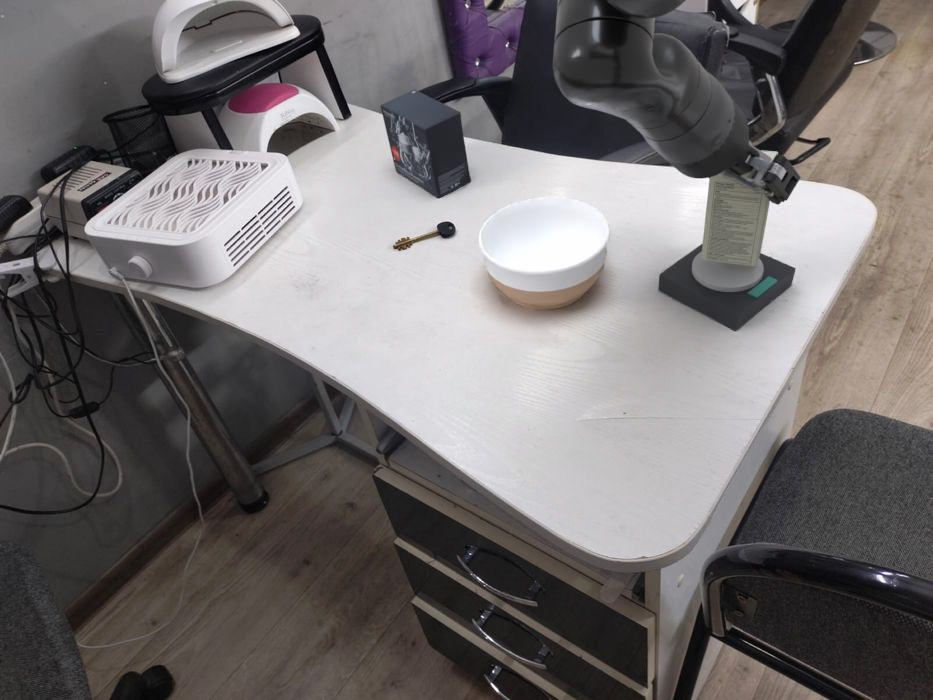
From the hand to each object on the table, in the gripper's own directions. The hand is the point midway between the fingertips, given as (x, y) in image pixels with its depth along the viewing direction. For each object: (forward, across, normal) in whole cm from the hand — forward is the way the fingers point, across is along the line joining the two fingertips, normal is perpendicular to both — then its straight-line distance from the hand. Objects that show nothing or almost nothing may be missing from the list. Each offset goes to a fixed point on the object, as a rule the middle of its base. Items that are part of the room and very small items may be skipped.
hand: (748, 183), depth 74 cm
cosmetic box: (+5, 0, +7) cm, 9 cm away
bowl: (-1, +17, +20) cm, 27 cm away
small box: (+4, +51, +16) cm, 54 cm away
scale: (+9, 0, +11) cm, 14 cm away
